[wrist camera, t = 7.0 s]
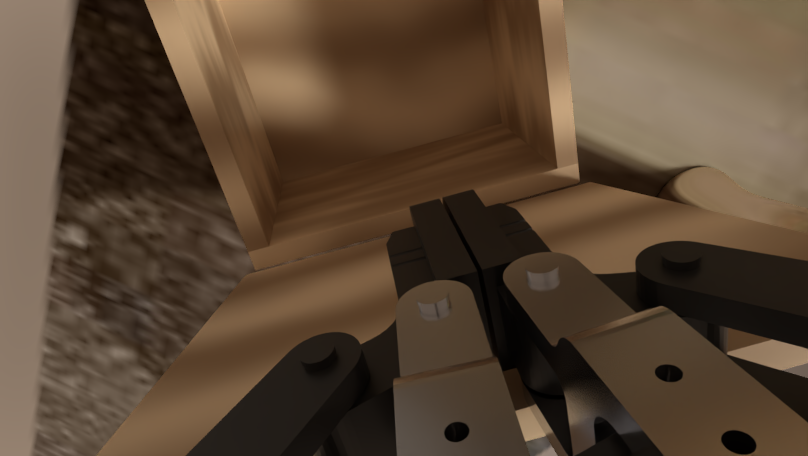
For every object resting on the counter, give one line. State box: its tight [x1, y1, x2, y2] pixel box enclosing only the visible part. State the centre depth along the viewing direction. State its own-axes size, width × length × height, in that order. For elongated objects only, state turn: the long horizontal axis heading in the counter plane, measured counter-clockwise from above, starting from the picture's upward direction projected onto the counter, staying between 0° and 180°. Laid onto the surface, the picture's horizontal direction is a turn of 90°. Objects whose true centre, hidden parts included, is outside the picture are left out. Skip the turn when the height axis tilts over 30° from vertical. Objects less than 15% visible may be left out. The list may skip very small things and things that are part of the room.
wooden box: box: [145, 0, 580, 270], centre depth 27 cm, size 16×16×10 cm
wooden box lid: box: [96, 182, 808, 456], centre depth 17 cm, size 17×17×1 cm
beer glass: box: [657, 167, 808, 233], centre depth 32 cm, size 7×7×15 cm
